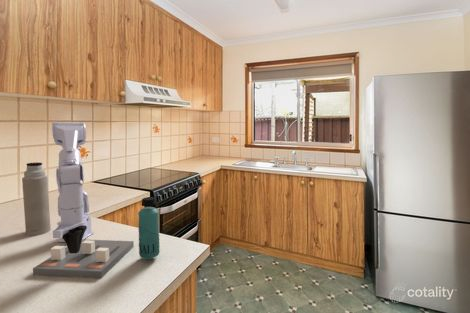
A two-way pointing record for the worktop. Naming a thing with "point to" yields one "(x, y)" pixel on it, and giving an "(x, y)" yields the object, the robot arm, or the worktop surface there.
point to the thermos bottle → (36, 200)
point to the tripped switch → (88, 247)
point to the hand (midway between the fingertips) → (74, 252)
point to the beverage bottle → (148, 229)
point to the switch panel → (84, 260)
